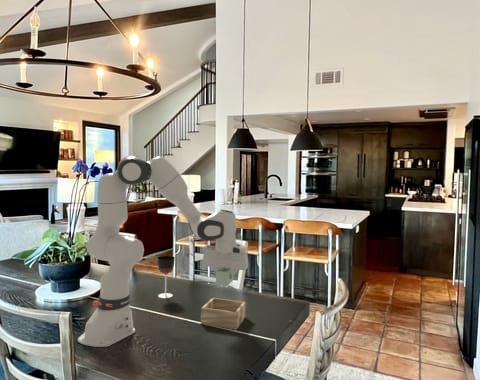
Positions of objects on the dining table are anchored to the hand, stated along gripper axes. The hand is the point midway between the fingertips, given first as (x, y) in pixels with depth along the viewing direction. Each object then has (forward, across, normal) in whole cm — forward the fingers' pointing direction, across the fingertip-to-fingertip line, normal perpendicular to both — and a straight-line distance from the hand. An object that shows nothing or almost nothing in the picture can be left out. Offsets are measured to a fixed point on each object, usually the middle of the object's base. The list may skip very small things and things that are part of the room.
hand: (224, 277), depth 163 cm
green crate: (+2, 0, 0) cm, 2 cm away
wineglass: (+19, -39, +20) cm, 48 cm away
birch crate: (+19, 0, 0) cm, 19 cm away
